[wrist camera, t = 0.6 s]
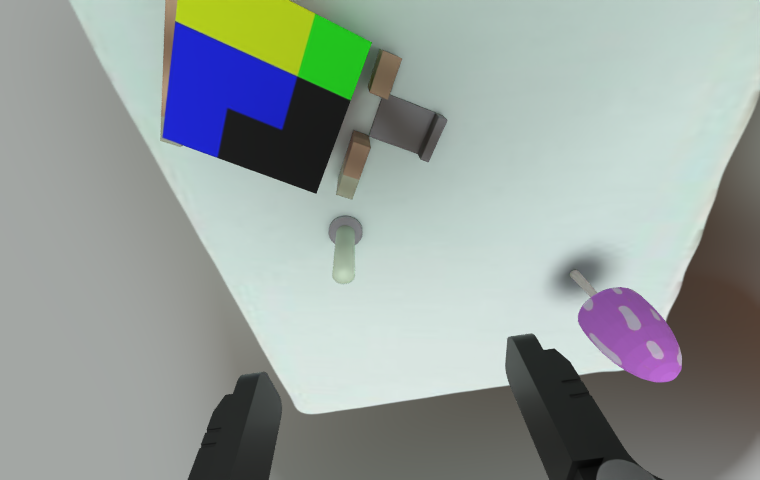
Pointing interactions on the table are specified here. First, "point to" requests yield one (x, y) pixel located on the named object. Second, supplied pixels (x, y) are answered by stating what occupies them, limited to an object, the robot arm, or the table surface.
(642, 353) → the toy
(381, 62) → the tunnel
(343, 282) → the goal post
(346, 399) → the table surface
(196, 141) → the puzzle toy
